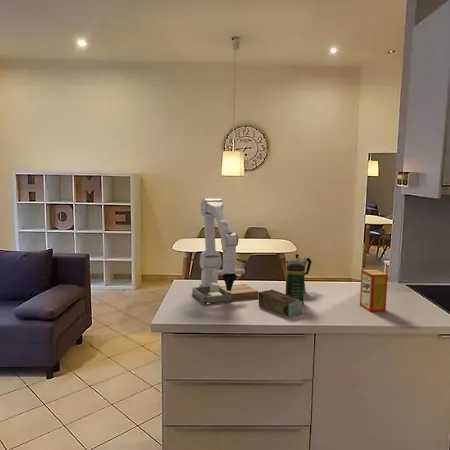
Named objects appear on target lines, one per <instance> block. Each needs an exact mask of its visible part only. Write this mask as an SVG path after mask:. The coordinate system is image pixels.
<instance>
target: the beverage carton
mask: <svg viewBox="0 0 450 450" xmlns="http://www.w3.org/2000/svg"><path fill="white" fill-rule="evenodd" d="M258 306H259V307H260V306H261V307H262V308H264V309H268V310H270V311H272V312H274V313H277V314H279V315H281V316H283V317H284V316H285V317H286V318H291V317H295V316H300V315H302V314H303V305H302V300H299V299H296V298H294V297H291V296H289V295H286V293H282V292H280V291H278V290H275V289H268V290H263V291H259V294H258Z"/></svg>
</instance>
